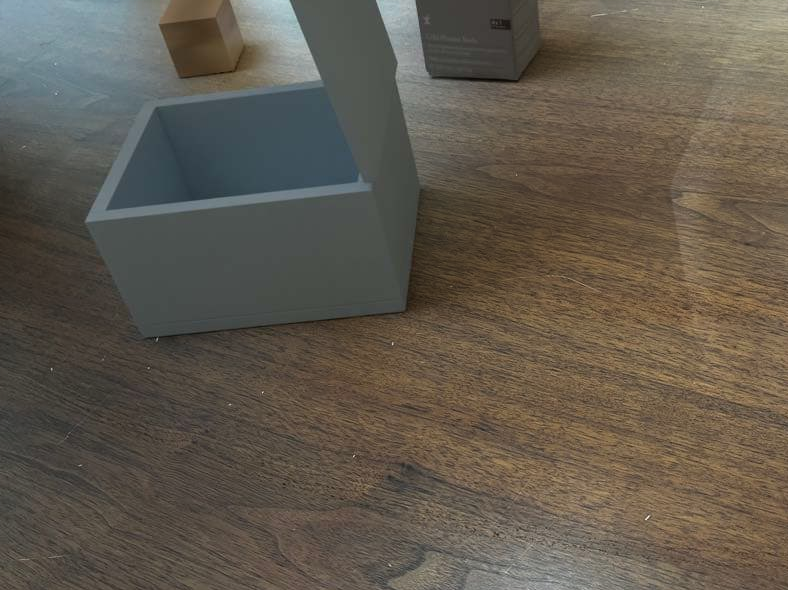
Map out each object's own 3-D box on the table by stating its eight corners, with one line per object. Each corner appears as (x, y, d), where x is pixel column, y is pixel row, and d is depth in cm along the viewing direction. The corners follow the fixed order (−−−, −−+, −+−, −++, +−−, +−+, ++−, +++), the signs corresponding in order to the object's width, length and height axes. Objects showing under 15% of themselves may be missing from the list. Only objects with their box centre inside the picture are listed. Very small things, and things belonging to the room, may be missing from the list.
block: (178, 78, 95) (157, 23, 91) (191, 51, 98) (171, -2, 95) (234, 71, 94) (215, 16, 91) (244, 45, 98) (227, -9, 94)
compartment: (142, 338, 69) (84, 222, 63) (191, 212, 79) (144, 100, 73) (405, 311, 68) (372, 189, 61) (421, 186, 78) (393, 70, 71)
